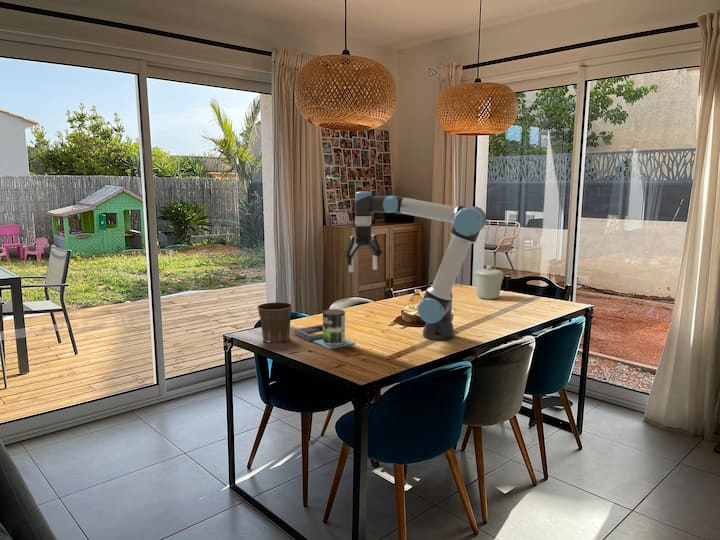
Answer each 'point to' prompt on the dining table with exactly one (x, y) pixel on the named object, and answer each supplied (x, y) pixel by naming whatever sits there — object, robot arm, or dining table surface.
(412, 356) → the dining table surface
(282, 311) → the plant pot
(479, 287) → the canister
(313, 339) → the socket frame
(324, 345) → the mat
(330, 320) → the coffee can
